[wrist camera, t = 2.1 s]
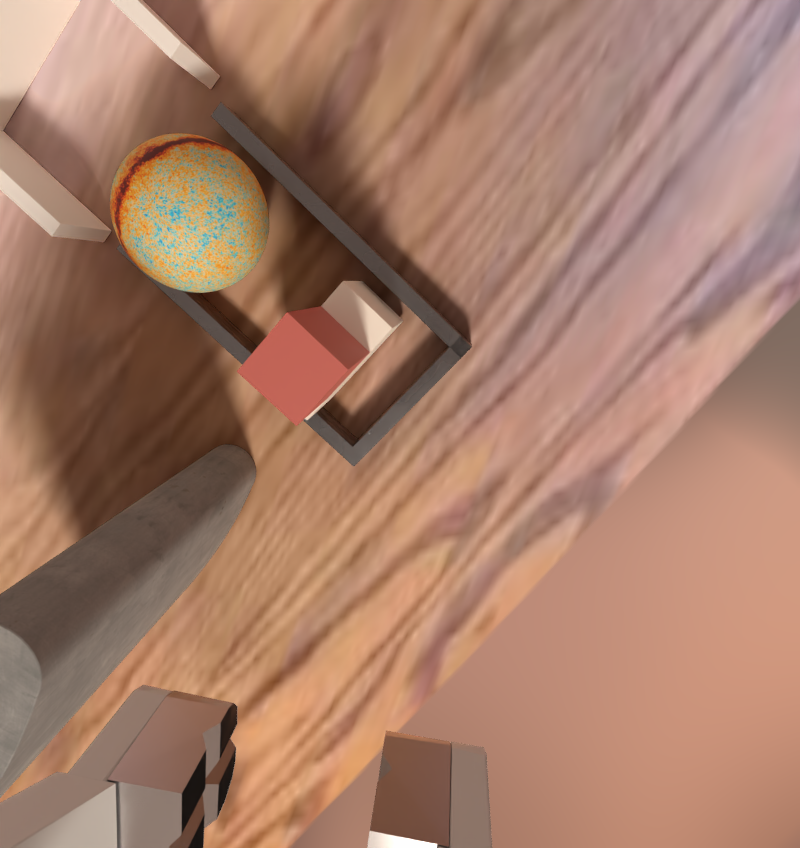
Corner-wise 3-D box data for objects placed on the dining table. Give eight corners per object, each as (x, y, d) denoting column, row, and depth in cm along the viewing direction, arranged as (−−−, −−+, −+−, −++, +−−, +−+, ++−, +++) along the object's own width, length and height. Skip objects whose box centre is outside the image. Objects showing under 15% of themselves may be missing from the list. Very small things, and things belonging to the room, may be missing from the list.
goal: (103, 242, 30) (36, 234, 25) (-20, 129, 29) (-114, 99, 24) (220, 76, 27) (168, 32, 23) (88, -54, 27) (5, -128, 22)
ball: (314, 229, 29) (269, 213, 22) (225, 317, 30) (158, 327, 24) (222, 122, 28) (146, 71, 21) (136, 218, 30) (41, 200, 23)
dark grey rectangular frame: (358, 458, 32) (353, 466, 30) (132, 250, 30) (116, 248, 29) (471, 343, 29) (471, 347, 28) (233, 111, 28) (220, 102, 26)
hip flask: (223, 433, 32) (-126, 658, 13) (278, 475, 33) (16, 754, 13) (98, 610, 37) (-304, 976, 17) (148, 645, 37) (-193, 1045, 18)
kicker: (330, 398, 31) (272, 452, 21) (291, 362, 30) (213, 399, 21) (403, 320, 29) (375, 340, 20) (362, 280, 29) (313, 280, 19)
